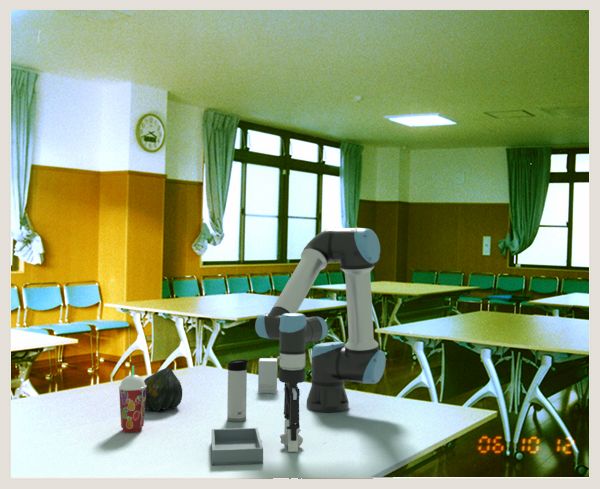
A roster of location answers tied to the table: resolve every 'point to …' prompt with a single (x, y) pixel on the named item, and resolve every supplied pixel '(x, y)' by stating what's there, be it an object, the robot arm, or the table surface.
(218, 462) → the bin
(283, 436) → the white animal figurine
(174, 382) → the squash
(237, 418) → the travel mug
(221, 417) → the table surface
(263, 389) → the supplement box
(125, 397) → the smoothie
